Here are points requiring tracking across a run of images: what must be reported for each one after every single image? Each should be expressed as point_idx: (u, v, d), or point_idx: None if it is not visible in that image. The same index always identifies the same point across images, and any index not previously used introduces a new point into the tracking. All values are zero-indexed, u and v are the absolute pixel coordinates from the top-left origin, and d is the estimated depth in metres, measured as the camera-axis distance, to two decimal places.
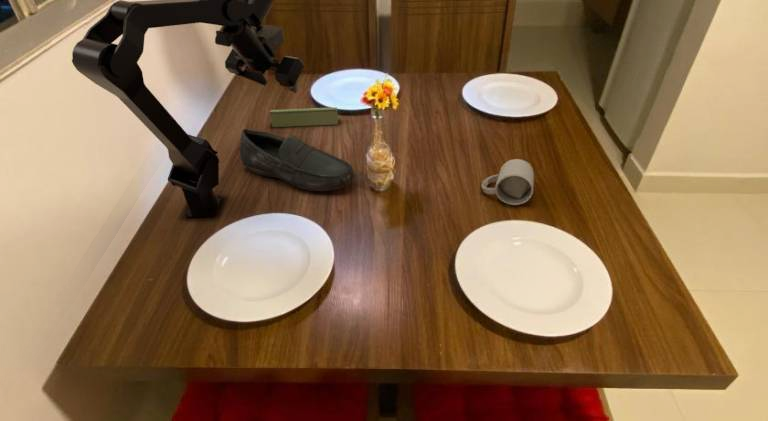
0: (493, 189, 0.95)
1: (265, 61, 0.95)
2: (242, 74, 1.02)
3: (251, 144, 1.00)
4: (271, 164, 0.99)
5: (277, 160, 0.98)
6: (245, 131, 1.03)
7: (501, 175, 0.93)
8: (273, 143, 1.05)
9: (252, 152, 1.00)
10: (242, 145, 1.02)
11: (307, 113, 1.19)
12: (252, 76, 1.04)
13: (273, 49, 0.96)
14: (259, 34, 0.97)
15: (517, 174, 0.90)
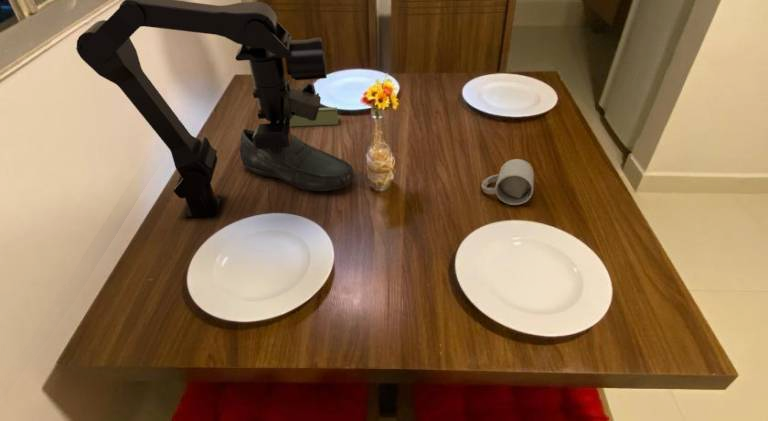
0: (493, 189, 0.95)
1: (268, 110, 0.80)
2: None
3: (251, 144, 1.00)
4: (271, 164, 0.99)
5: None
6: (245, 131, 1.03)
7: (501, 175, 0.93)
8: None
9: (252, 152, 1.00)
10: (242, 145, 1.02)
11: None
12: None
13: (287, 111, 0.80)
14: (299, 92, 0.82)
15: (517, 174, 0.90)
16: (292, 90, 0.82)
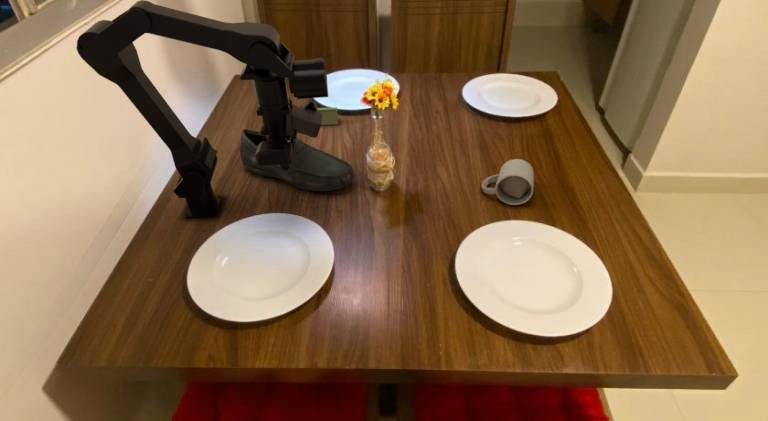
0: (493, 189, 0.95)
1: (271, 127, 0.82)
2: (268, 137, 0.88)
3: (251, 144, 1.00)
4: None
5: None
6: (245, 131, 1.03)
7: (501, 175, 0.93)
8: None
9: (252, 152, 1.00)
10: (242, 145, 1.02)
11: None
12: None
13: (289, 128, 0.82)
14: (301, 110, 0.84)
15: (517, 174, 0.90)
16: (294, 107, 0.84)
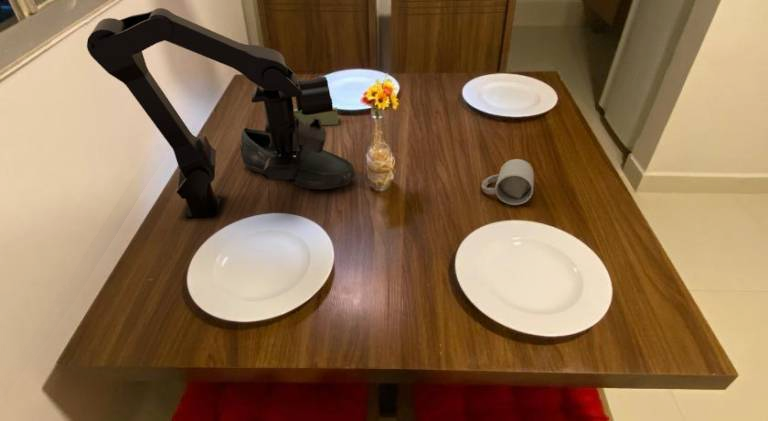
0: (493, 189, 0.95)
1: (278, 143, 0.88)
2: (275, 152, 0.93)
3: (252, 143, 1.00)
4: None
5: None
6: (246, 130, 1.03)
7: (501, 175, 0.93)
8: None
9: (253, 151, 1.01)
10: (243, 144, 1.03)
11: None
12: None
13: (296, 144, 0.88)
14: (307, 127, 0.90)
15: (517, 174, 0.90)
16: (300, 125, 0.90)
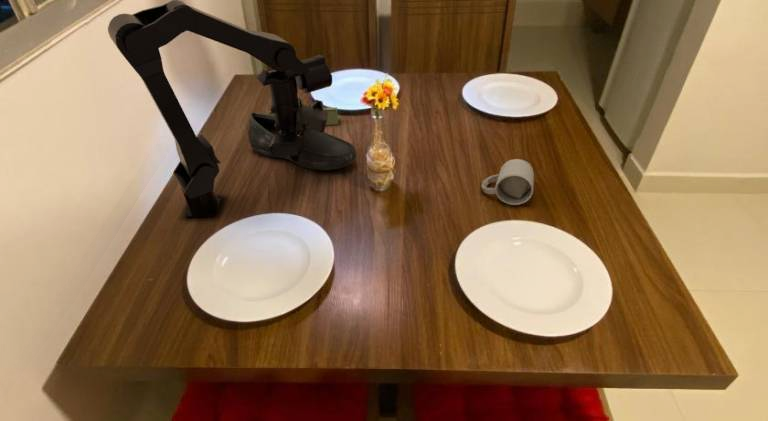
0: (493, 189, 0.95)
1: (283, 123, 0.94)
2: (280, 133, 0.99)
3: (259, 126, 1.06)
4: None
5: None
6: (253, 114, 1.09)
7: (501, 175, 0.93)
8: None
9: (260, 134, 1.06)
10: (250, 128, 1.08)
11: None
12: None
13: (299, 124, 0.94)
14: (310, 108, 0.96)
15: (517, 174, 0.90)
16: (304, 106, 0.96)
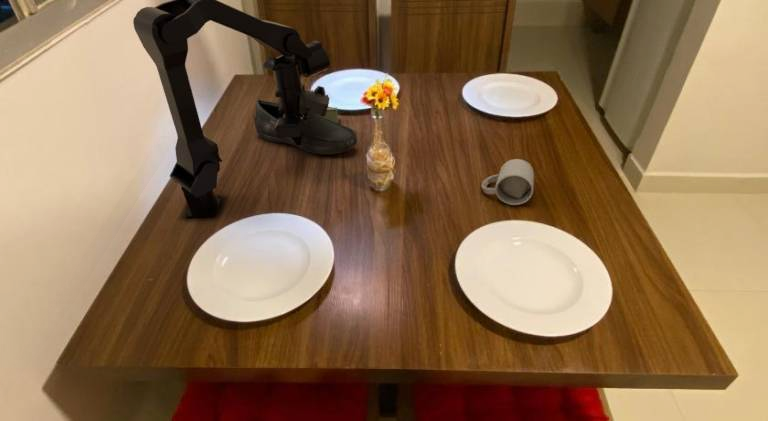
0: (493, 189, 0.95)
1: (287, 107, 0.99)
2: (284, 117, 1.04)
3: (265, 112, 1.11)
4: None
5: None
6: (259, 101, 1.14)
7: (501, 175, 0.93)
8: None
9: (265, 120, 1.12)
10: (256, 114, 1.13)
11: None
12: None
13: (302, 108, 0.99)
14: (312, 93, 1.01)
15: (517, 174, 0.90)
16: (306, 91, 1.01)
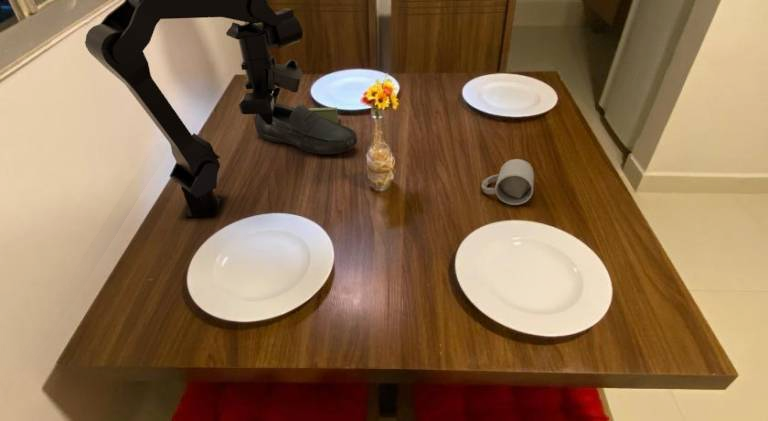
0: (493, 189, 0.95)
1: (254, 81, 0.90)
2: None
3: None
4: (282, 130, 1.10)
5: (288, 126, 1.09)
6: None
7: (501, 175, 0.93)
8: (284, 113, 1.17)
9: None
10: (256, 114, 1.13)
11: None
12: None
13: (271, 82, 0.90)
14: (283, 67, 0.92)
15: (517, 174, 0.90)
16: (277, 64, 0.92)
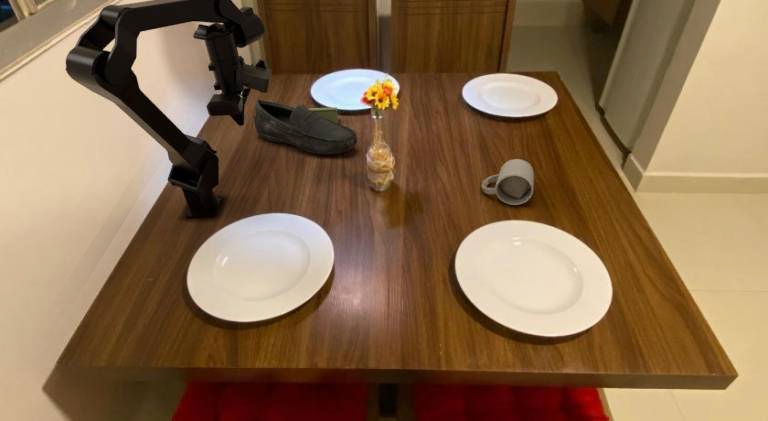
0: (493, 189, 0.95)
1: (222, 82, 0.89)
2: None
3: (265, 112, 1.11)
4: (282, 130, 1.10)
5: (288, 126, 1.09)
6: (259, 101, 1.14)
7: (501, 175, 0.93)
8: (284, 113, 1.17)
9: (265, 120, 1.12)
10: (256, 114, 1.13)
11: None
12: None
13: (239, 83, 0.89)
14: (252, 67, 0.91)
15: (517, 174, 0.90)
16: (245, 65, 0.91)
